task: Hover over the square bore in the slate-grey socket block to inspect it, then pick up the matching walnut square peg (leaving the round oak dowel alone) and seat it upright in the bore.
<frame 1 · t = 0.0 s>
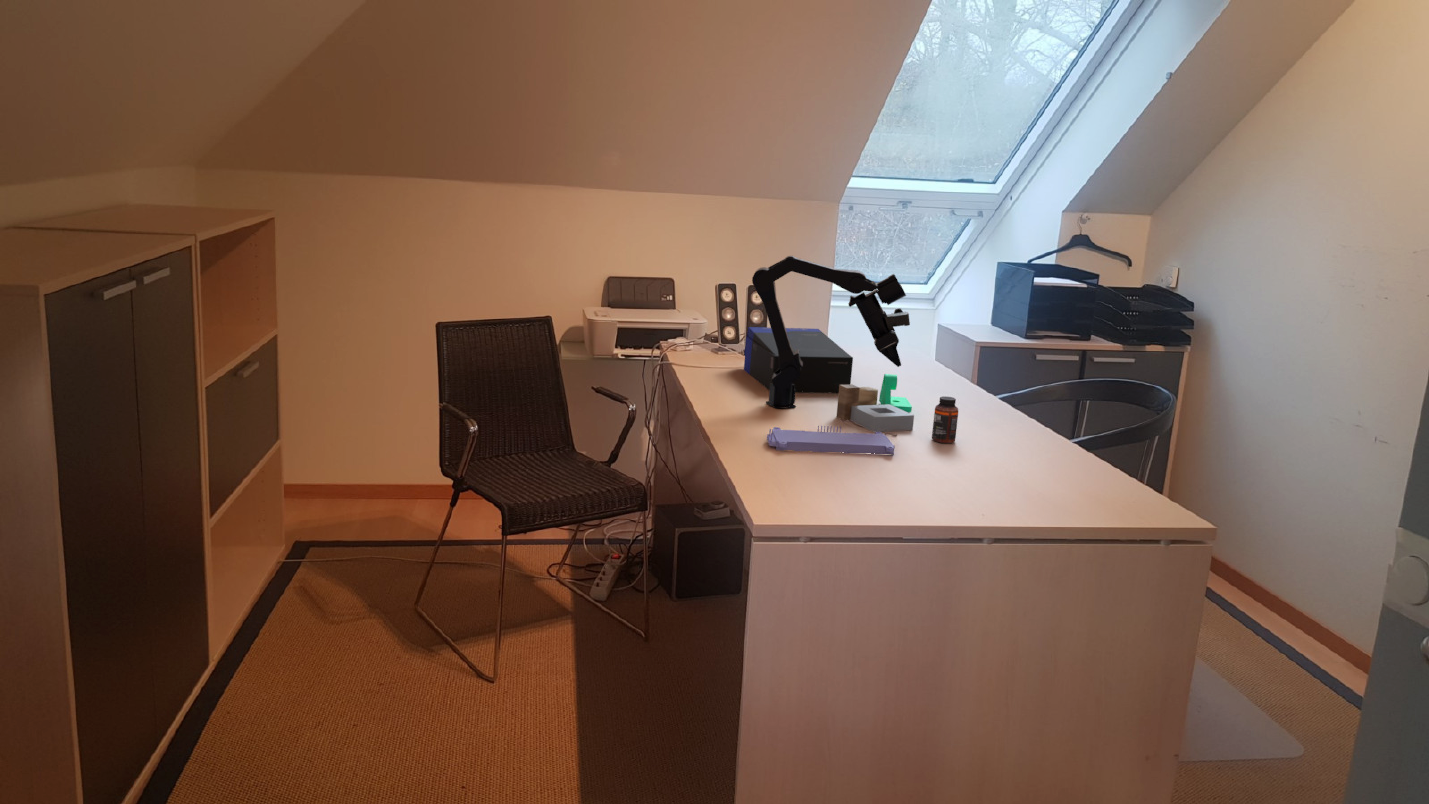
hand: (898, 362, 289), 15 cm above the table, tool tilted 35°, fingers open, 9 cm apart
green angle bracket: (894, 410, 300), on the table
round dowel: (866, 409, 297), on the table
supplement bottle: (943, 441, 269), on the table
socket block: (881, 425, 281), on the table
square peg: (846, 418, 286), on the table
computer part: (828, 448, 257), on the table
headphone box: (793, 381, 331), on the table
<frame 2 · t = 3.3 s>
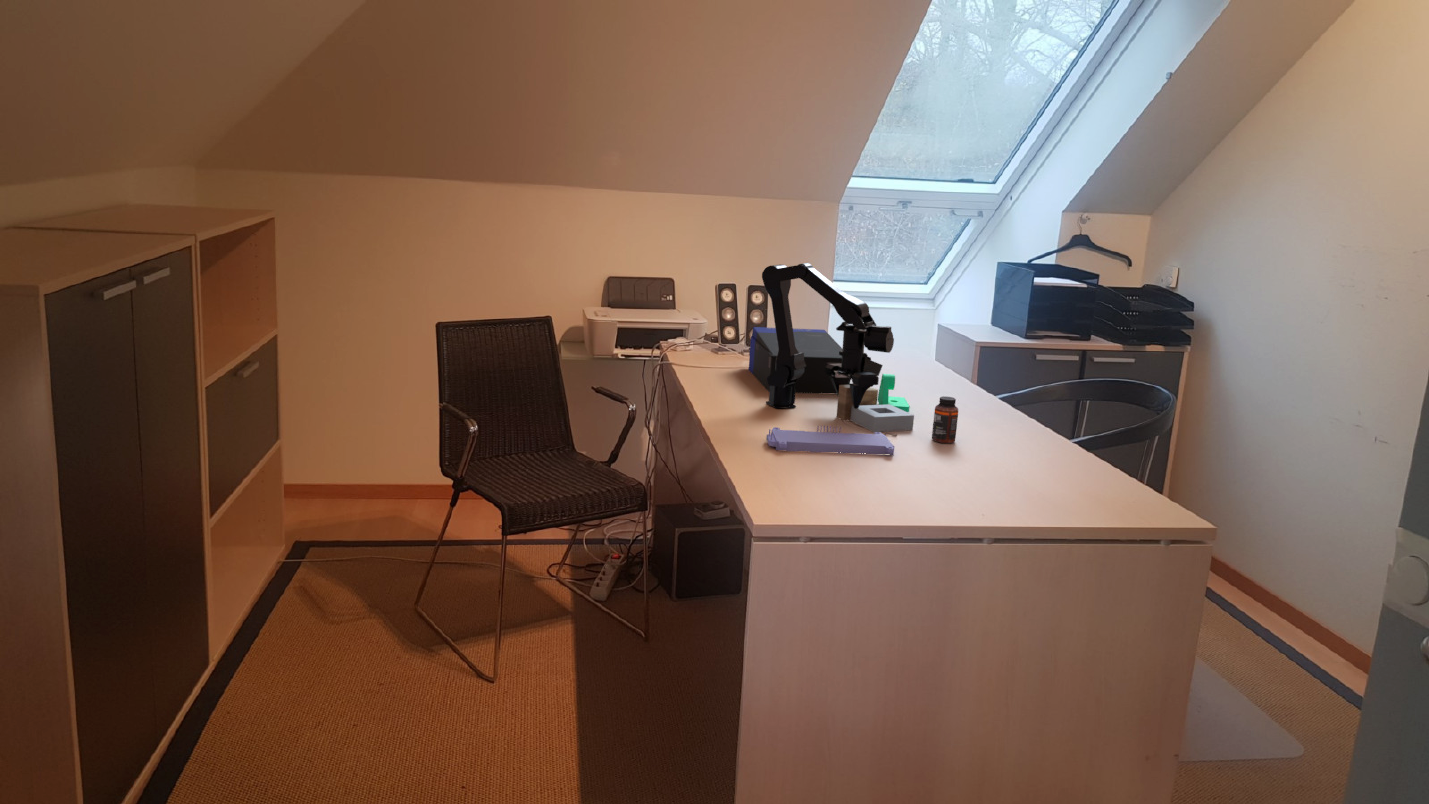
hand: (849, 405, 284), 4 cm above the table, tool pointing down, fingers open, 7 cm apart
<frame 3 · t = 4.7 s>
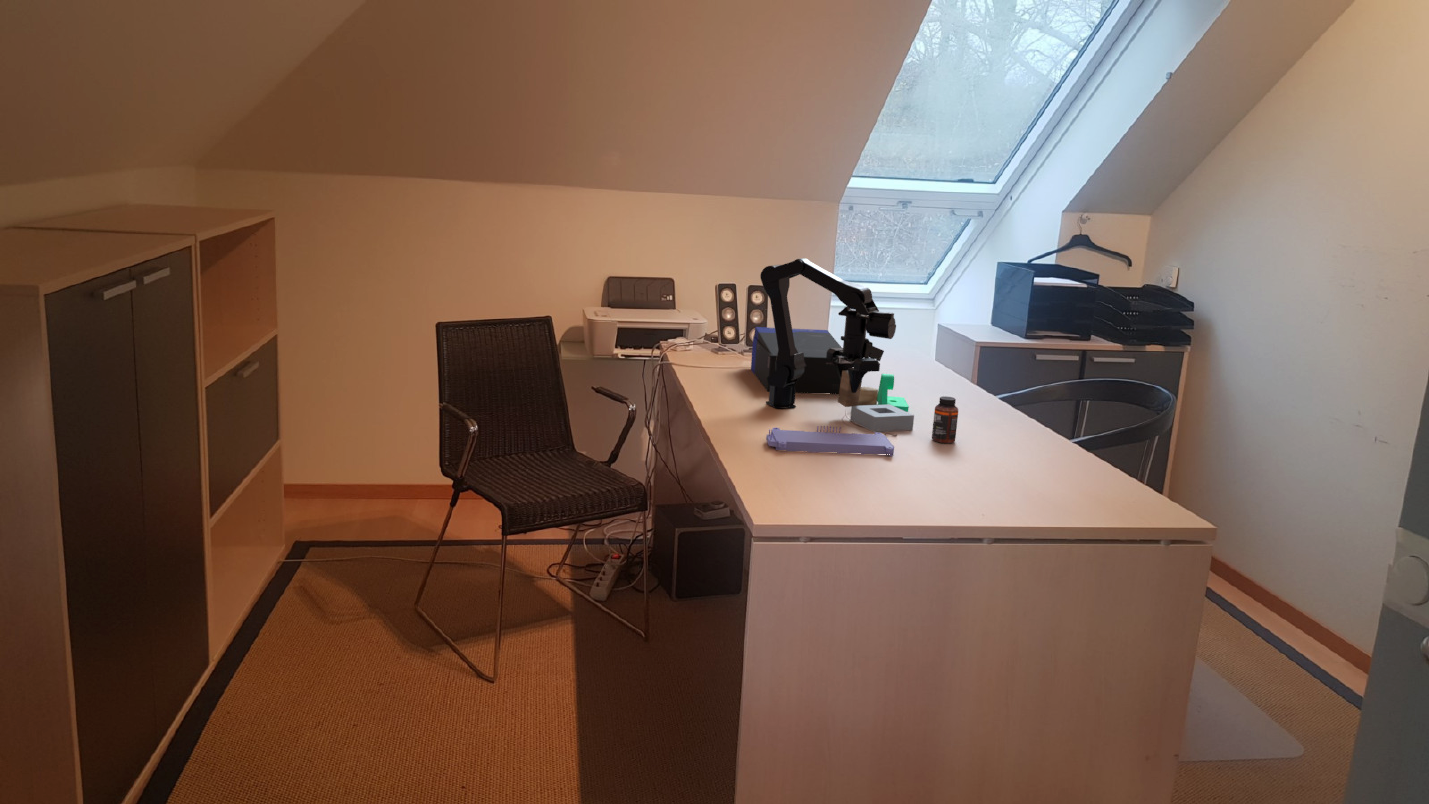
hand: (849, 390, 284), 8 cm above the table, tool pointing down, fingers closed on square peg, 4 cm apart
square peg: (847, 404, 285), point 4 cm above the table, tilted 6°, touching gripper
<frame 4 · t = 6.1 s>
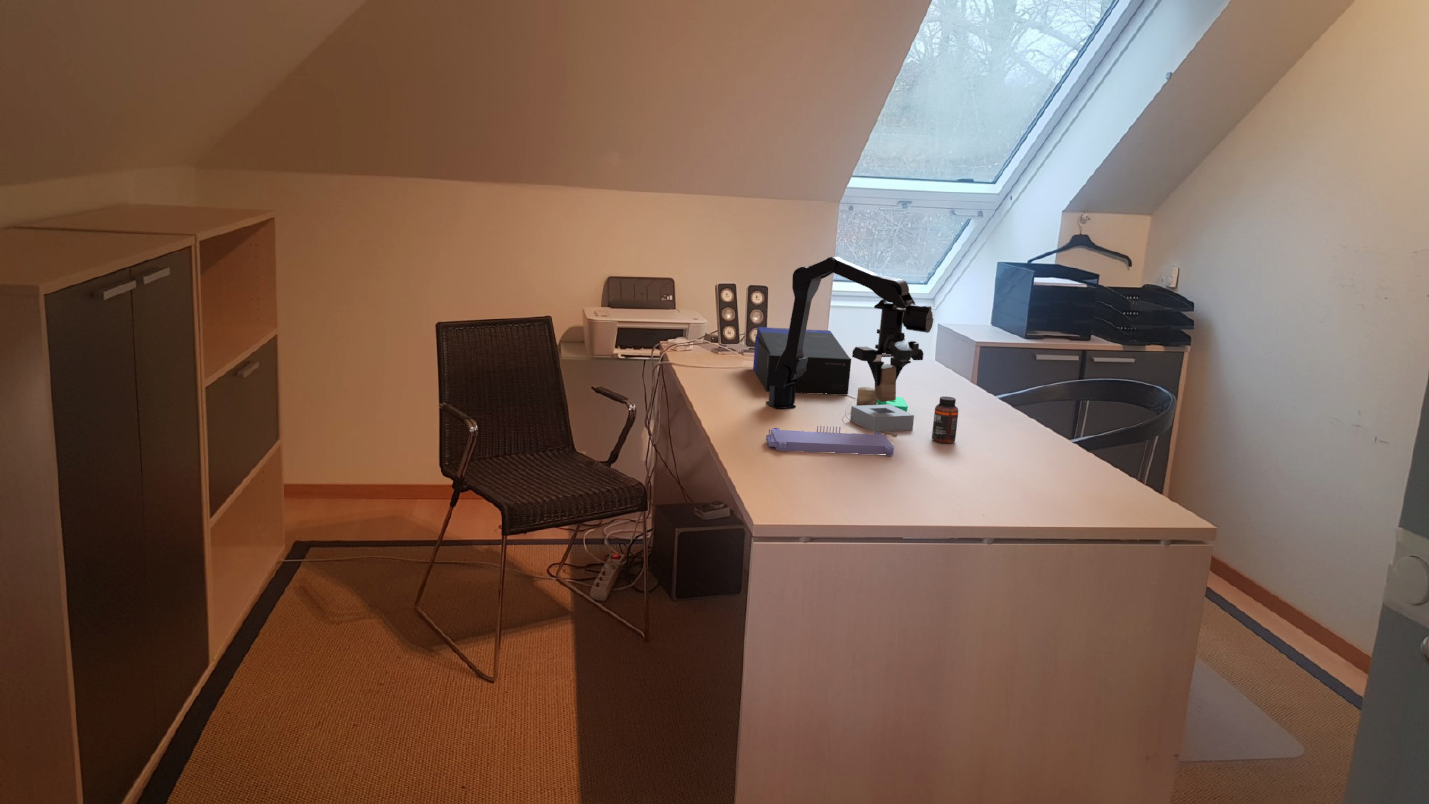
hand: (884, 385, 278), 11 cm above the table, tool pointing down, fingers closed on square peg, 4 cm apart
square peg: (885, 399, 279), point 7 cm above the table, tilted 6°, touching gripper
when the fingers open (4 cm above the table, at t = 7.4 s): square peg stays where it is, resting in socket block.
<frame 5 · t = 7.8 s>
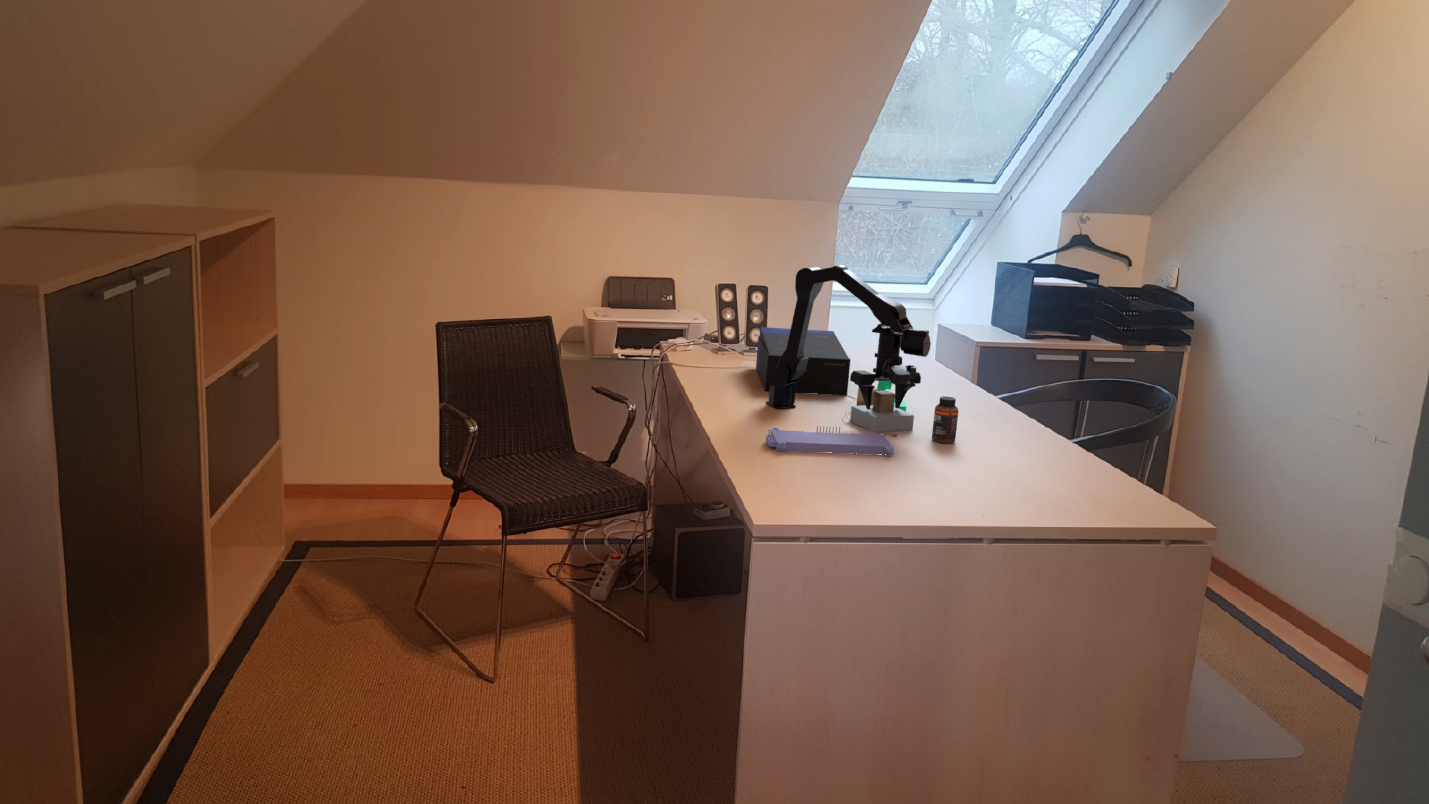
hand: (882, 408, 280), 4 cm above the table, tool pointing down, fingers open, 9 cm apart
square peg: (881, 425, 281), resting in socket block
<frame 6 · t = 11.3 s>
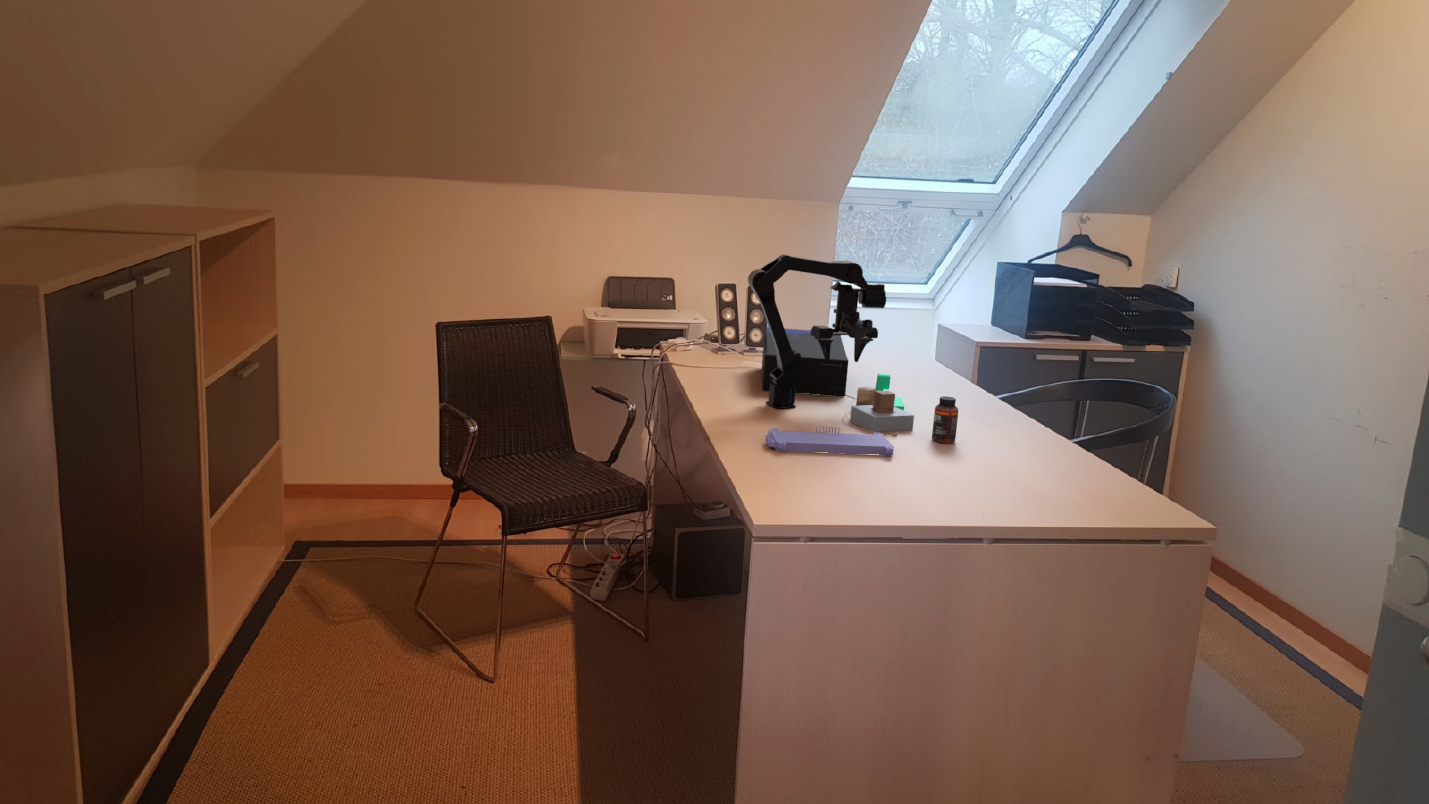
hand: (841, 362, 295), 13 cm above the table, tool pointing down, fingers open, 9 cm apart
at the end: square peg 0.1 cm off-centre on the socket block, point 0.0 cm above the socket block's base; square peg tilted 0°; the gripper is holding nothing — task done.
